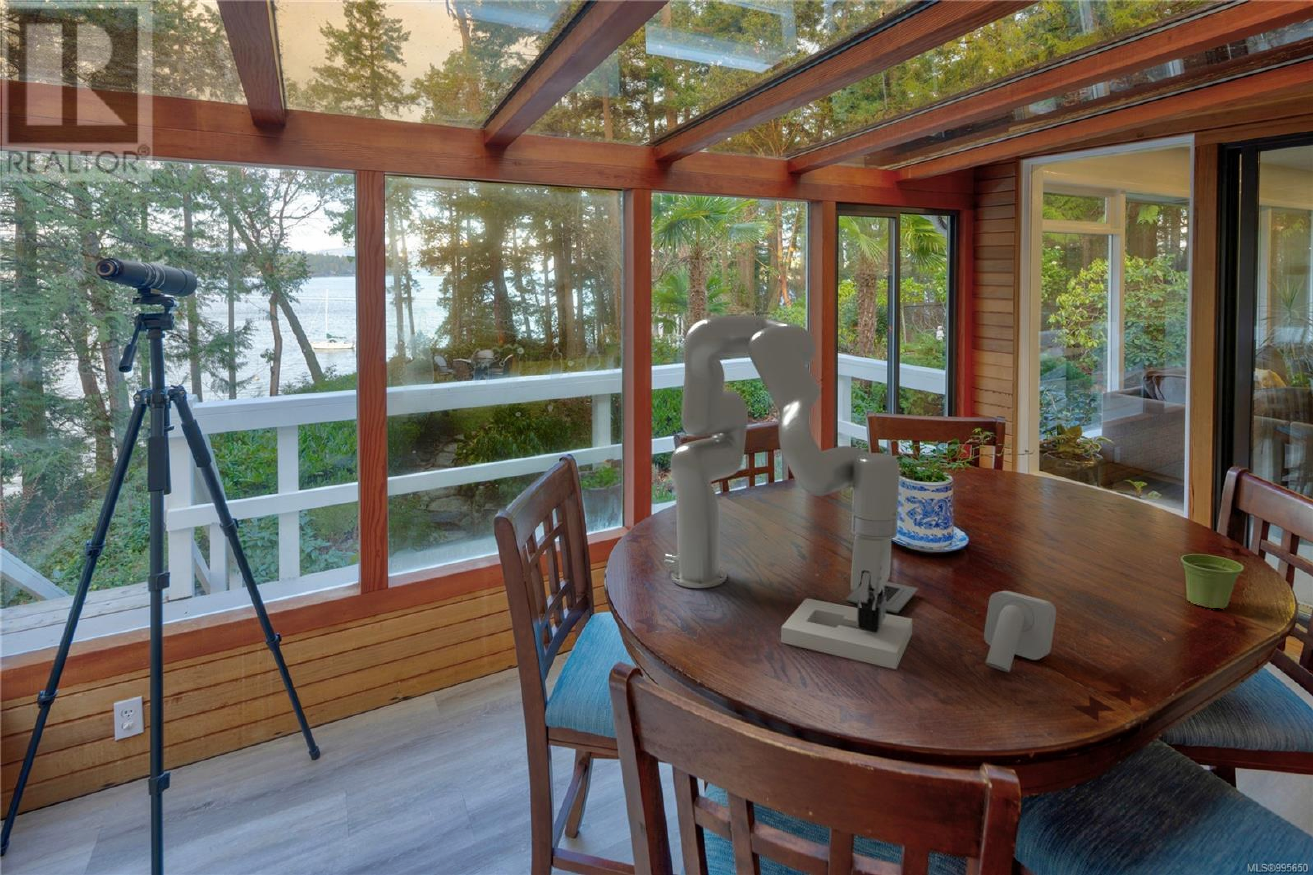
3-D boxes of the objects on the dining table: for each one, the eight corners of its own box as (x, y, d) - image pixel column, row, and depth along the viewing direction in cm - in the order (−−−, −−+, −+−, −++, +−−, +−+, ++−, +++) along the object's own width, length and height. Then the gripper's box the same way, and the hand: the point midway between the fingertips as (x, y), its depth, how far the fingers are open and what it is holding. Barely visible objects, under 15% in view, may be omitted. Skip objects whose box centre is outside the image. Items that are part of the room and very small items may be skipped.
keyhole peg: (855, 645, 118) (856, 600, 116) (861, 635, 122) (862, 590, 120) (880, 651, 116) (882, 604, 114) (886, 640, 119) (887, 595, 118)
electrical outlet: (868, 586, 144) (868, 576, 144) (917, 597, 138) (918, 586, 137) (844, 608, 134) (844, 597, 134) (897, 621, 128) (897, 610, 127)
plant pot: (1232, 619, 124) (1238, 575, 122) (1170, 603, 131) (1175, 562, 129) (1242, 604, 129) (1248, 562, 128) (1183, 590, 137) (1187, 550, 135)
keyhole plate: (781, 642, 120) (781, 627, 120) (806, 612, 132) (806, 598, 131) (896, 669, 110) (896, 652, 109) (911, 634, 122) (912, 618, 121)
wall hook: (963, 662, 110) (973, 593, 110) (988, 652, 119) (998, 588, 118) (1025, 684, 103) (1036, 610, 103) (1047, 671, 112) (1057, 603, 112)
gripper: (864, 509, 124) (861, 601, 127) (839, 536, 110) (836, 638, 113) (906, 514, 120) (902, 609, 123) (886, 542, 106) (882, 648, 109)
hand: (871, 622), depth 118 cm, fingers closed on keyhole peg, 4 cm apart
